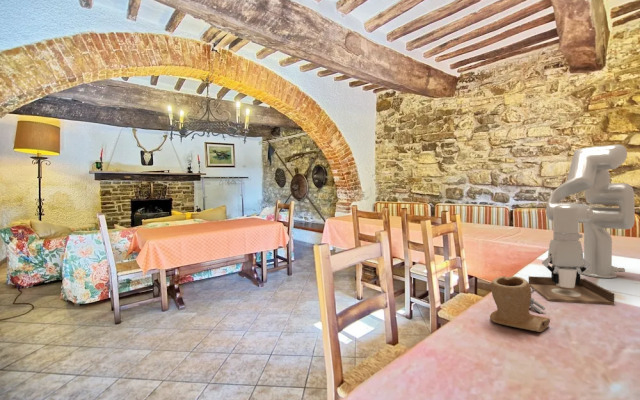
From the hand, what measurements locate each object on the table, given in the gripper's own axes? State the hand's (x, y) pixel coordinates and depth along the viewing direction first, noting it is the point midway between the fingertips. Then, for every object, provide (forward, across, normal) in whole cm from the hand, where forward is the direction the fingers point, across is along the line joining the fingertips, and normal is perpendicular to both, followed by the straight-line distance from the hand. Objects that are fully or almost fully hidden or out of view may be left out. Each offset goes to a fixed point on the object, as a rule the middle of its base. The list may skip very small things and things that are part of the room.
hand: (565, 282), depth 117 cm
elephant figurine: (+5, +18, +16) cm, 25 cm away
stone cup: (+5, +27, +32) cm, 42 cm away
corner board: (+5, -1, -1) cm, 5 cm away
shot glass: (+1, 0, 0) cm, 1 cm away
